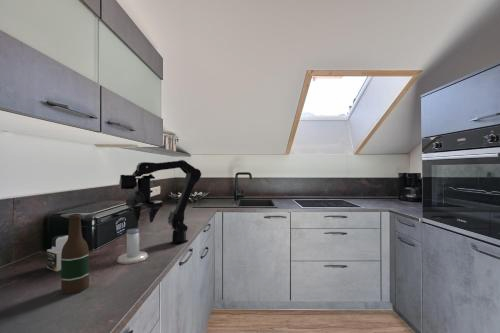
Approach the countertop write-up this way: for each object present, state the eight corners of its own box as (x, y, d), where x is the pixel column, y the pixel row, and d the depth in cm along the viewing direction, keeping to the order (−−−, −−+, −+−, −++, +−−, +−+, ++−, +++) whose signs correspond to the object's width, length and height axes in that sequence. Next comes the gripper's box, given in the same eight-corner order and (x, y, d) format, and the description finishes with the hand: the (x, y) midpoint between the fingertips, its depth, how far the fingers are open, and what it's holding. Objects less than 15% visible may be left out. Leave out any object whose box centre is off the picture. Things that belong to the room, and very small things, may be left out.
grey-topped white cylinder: (131, 253, 109) (130, 228, 108) (141, 253, 108) (141, 228, 108) (124, 257, 104) (124, 231, 104) (135, 258, 103) (135, 231, 103)
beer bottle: (67, 297, 75) (66, 217, 74) (55, 291, 79) (55, 215, 79) (94, 287, 81) (94, 213, 81) (82, 281, 85) (82, 211, 85)
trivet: (135, 251, 114) (135, 249, 114) (154, 256, 109) (154, 253, 109) (110, 261, 103) (110, 258, 103) (130, 266, 98) (130, 263, 98)
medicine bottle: (46, 268, 96) (46, 237, 96) (67, 261, 103) (66, 232, 103) (56, 271, 93) (55, 239, 93) (76, 265, 99) (76, 235, 99)
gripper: (115, 189, 115) (115, 223, 115) (143, 191, 107) (144, 227, 107) (136, 187, 125) (136, 218, 125) (163, 188, 117) (163, 222, 117)
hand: (144, 221), depth 118 cm, fingers open, 9 cm apart
